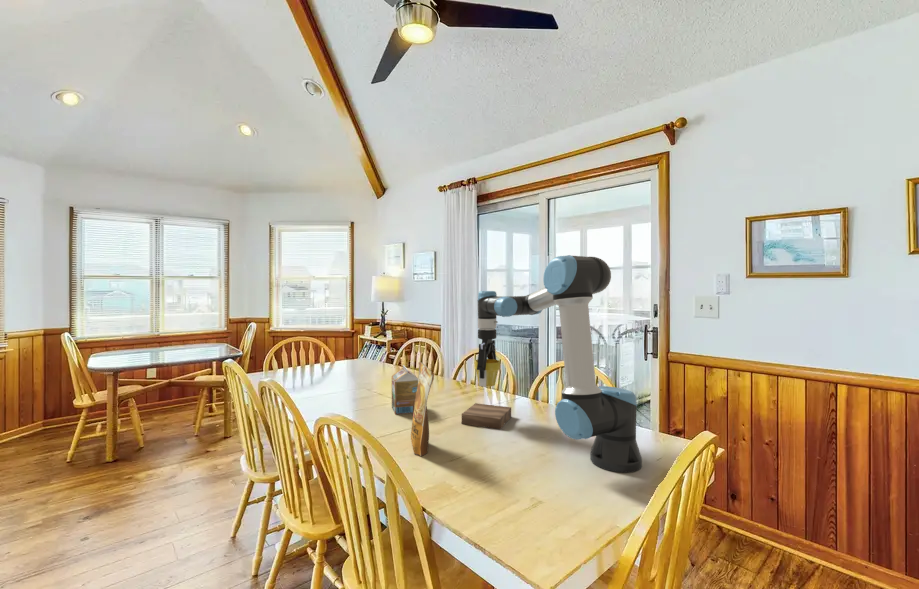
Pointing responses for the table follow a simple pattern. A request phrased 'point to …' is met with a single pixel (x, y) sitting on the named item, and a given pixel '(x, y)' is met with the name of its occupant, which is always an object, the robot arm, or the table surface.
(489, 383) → the plant pot
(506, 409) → the block
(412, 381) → the milk carton
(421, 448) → the pancake mix bag
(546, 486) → the table surface
